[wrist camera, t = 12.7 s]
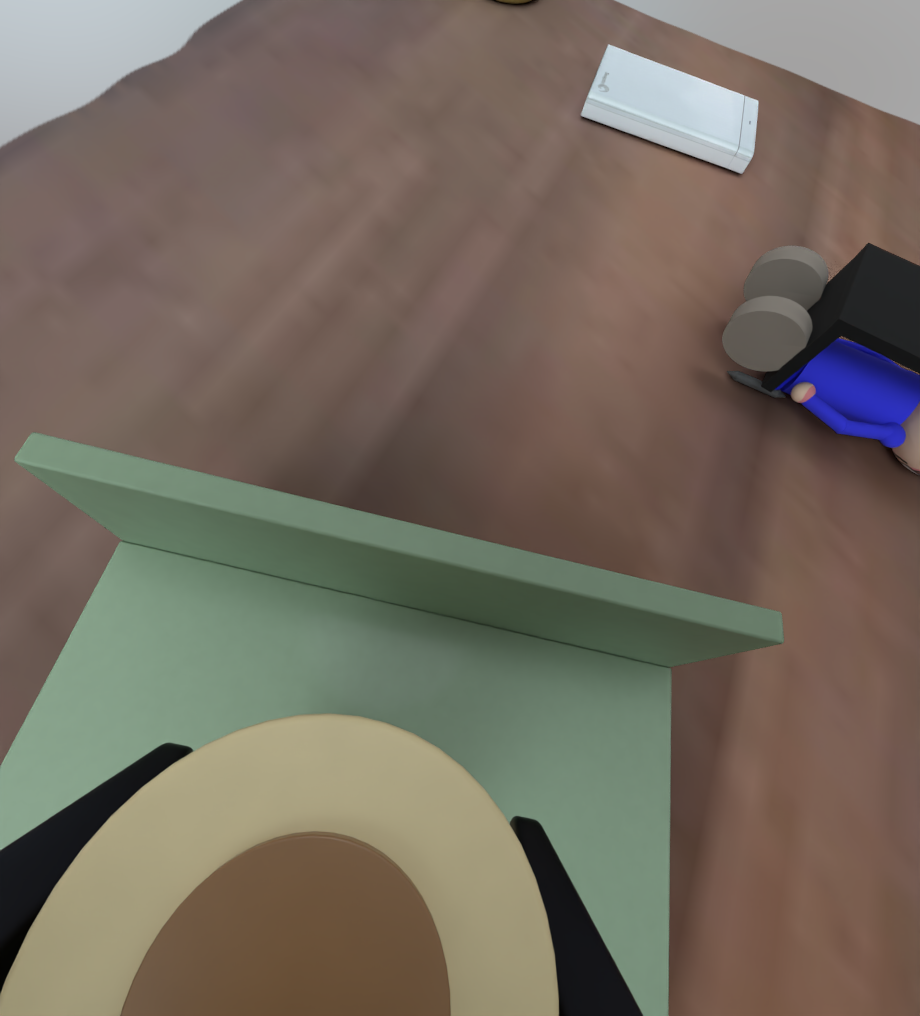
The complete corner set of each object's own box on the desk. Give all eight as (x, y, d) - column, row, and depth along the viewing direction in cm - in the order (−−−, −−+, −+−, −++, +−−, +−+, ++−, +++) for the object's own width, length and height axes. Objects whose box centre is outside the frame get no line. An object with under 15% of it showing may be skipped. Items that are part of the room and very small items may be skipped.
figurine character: (676, 400, 28) (953, 527, 25) (752, 286, 21) (1143, 440, 18) (711, 329, 31) (964, 436, 28) (788, 209, 24) (1132, 332, 21)
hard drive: (587, 93, 34) (755, 153, 34) (608, 41, 38) (761, 95, 38) (579, 120, 36) (740, 177, 36) (600, 67, 39) (746, 119, 39)
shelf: (597, 1094, 15) (867, 1549, 7) (-22, 982, 14) (-606, 1354, 6) (619, 658, 20) (783, 611, 12) (178, 556, 19) (31, 429, 11)
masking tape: (390, 987, 12) (430, 1726, 3) (206, 893, 12) (-258, 1335, 3) (470, 770, 14) (629, 836, 5) (313, 694, 14) (210, 632, 5)
